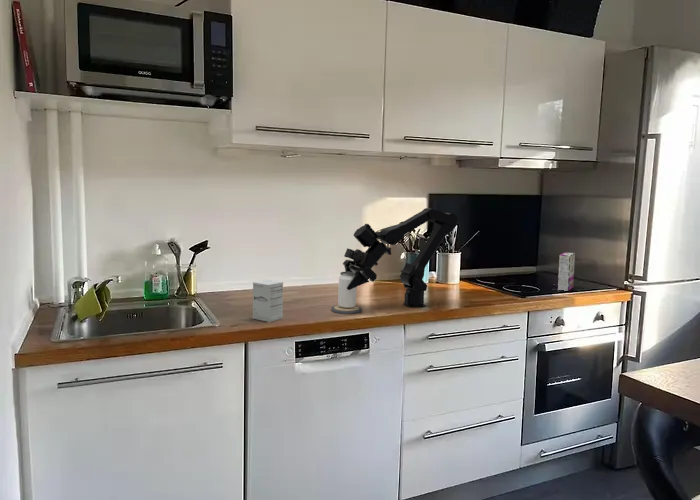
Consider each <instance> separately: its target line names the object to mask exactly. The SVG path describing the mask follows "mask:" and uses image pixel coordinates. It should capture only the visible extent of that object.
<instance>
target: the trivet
mask: <svg viewBox="0 0 700 500" xmlns="http://www.w3.org/2000/svg"><path fill="white" fill-rule="evenodd" d="M362 311H363V308H362V307H360V306H359V305H355V307H353V308H343V307H340V306H339V305H338V304H337V305H334V306H332V307H331V312H333V313H336V314H340V315H356V314H359V313H362Z"/></svg>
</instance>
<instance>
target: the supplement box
mask: <svg viewBox="0 0 700 500" xmlns="http://www.w3.org/2000/svg"><path fill="white" fill-rule="evenodd" d="M283 293H284V281H278V280H272V279H261V280H258V281H253V282H252V319H253V320H258V321H263V322H266V323H271V322H274V321H279V320H282V319H283V310H284V308H283V307H284V305H283V303H284V301H283V300H284V298H283V297H284V294H283Z"/></svg>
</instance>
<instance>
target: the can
mask: <svg viewBox="0 0 700 500" xmlns="http://www.w3.org/2000/svg"><path fill="white" fill-rule="evenodd" d="M354 277H355V273H354V272H345V271H341V272H340V275H339V276H338V291H337V292H338V293H337V306H338V305H339V306H340V307H343V308H353V307H355V306H357V287H358V286H357V287H355V288H353V289H350V290H348V289H347V287H348V285H349V284H350V282H351V281H352V279H353V278H354Z"/></svg>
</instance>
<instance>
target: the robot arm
mask: <svg viewBox="0 0 700 500" xmlns="http://www.w3.org/2000/svg"><path fill="white" fill-rule="evenodd" d="M428 221H431V222H433V229H432V232H431V234H430V235H429V236H428V238H427V240H426V241H425V243H424V244H423V247H422V248H421V249H420V251H419V252H418V253H417V255H416V257H415V259H414V260H413V262H411V263H408V262H406V263H405V264H404V266H403V268H402V270H400V272H401V273H400V275H399V277H400V281H401V283H402V284H403V287H404V289H405V293H404V302H403V305H405V306H408V307H410V308H418V307H426V306H427V305H426V304H425V292H427V289H428V284H427V283H426V282H425V281H424V280H423V279H424V276H425V271H426V267H427V265H428V264H429V262H430V260H431V259H432V257H433V255H434V254H435V252H436V251H437V250H438V248H439V246H440V244H441V243H442V242H443V239H444V238H445V237H446V236H447V235H449V234H451V233H452V232H453V231H454V230H455V228H456V227H458V226H457V225H458V224H459V220H458V217H457V215H456V214H455V213H452V212H451V213H450V212H442V211H440V210H437V209H434V208H431V207H430V208H429V207H426V208H423V209H422V210H421V211H419V212H418V213H416V214H414V215H412V216H411V217H409V218H408V219H405V220H404V221H402V222H400V223H398V224H392V225H389V226H387V227H384V228H382V229H381V230H380V231H377V232H376V231H375V230H374V229H373V228H372V226H371V224H369V223H365V224H364V225H362V226H360V227H359V228H357V229H356V230H355V231H354V233H353V237H354V238H355V239H356V240H357V241H358V242H359V243H360V245H361V246H363V247H364V248H367V249H366V250H365V251H363V250H361V249H358V248H356V249H355V250H354V249H350V248H346V249H345V250H346V251H345V253H344V255H343V257H345V258H349V259H345V260H344V261H343V262H342V265H343V266H344V270H345V271H344V272H354V273H355V277H354V278H353V279H352V281H351V282H350V284H349V285H348V287H347V289H348V290H350V289H353V288H355V287H359V286H362V285H365V284H367V283H370V282H371V283H372V282H373V283H374V282H375V281H376V280H377V274H376V272H375V271H374V270H373V267H376V266H378V265H379V263H378V262H379V261H380V259H381V258H382V257H384V255H388V256H391V255H392V247H391V246H395V245H397V244H398V243H399V242H401V241H402V240H403V239H404V237H405V236H406V235H407V234H408V233H410V232H411V231H413V230H416V228H419V227H421V226H422V225H424V224H425V223H427V222H428ZM386 244H387V245H391V246H387V245H386Z"/></svg>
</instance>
